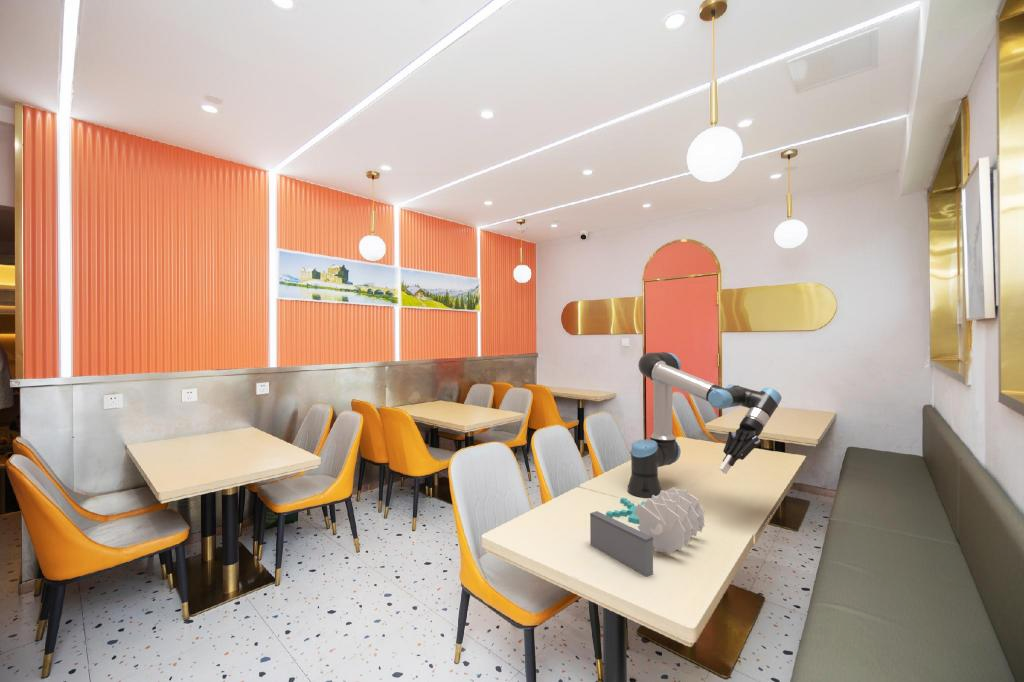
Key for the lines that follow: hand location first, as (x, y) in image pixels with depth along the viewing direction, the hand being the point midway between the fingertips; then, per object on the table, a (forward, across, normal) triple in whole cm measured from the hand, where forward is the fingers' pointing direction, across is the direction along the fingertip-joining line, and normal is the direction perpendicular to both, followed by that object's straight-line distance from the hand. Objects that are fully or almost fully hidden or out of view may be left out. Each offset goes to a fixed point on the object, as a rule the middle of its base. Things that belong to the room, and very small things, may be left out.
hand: (722, 471), depth 159 cm
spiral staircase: (+34, -1, +3) cm, 34 cm away
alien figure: (+29, +25, -2) cm, 38 cm away
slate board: (+49, -3, +19) cm, 53 cm away
